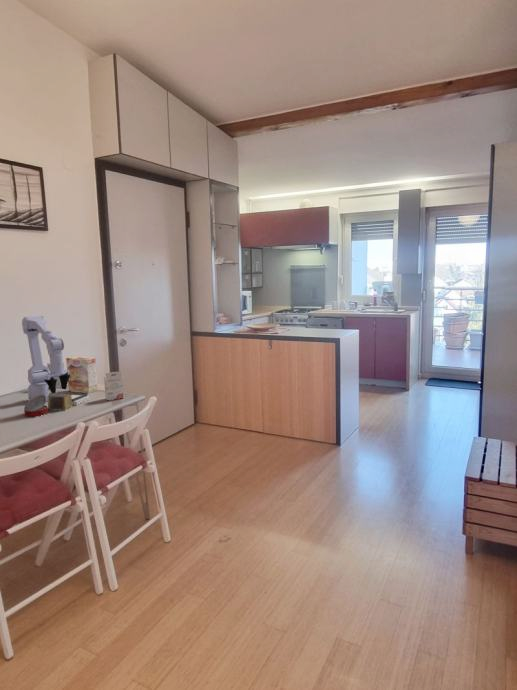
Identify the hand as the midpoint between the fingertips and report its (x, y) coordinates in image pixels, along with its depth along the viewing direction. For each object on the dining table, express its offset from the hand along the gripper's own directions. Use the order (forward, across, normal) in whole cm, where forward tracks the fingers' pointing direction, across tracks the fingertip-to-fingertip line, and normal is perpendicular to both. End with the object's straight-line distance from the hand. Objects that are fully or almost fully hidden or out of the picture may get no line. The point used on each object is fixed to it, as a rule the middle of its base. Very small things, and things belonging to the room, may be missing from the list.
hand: (58, 391), depth 221 cm
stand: (+9, +12, +2) cm, 15 cm away
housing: (+9, 0, 0) cm, 9 cm away
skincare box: (+9, +36, +32) cm, 49 cm away
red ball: (+9, -11, +5) cm, 15 cm away
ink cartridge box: (+9, +22, -16) cm, 29 cm away
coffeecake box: (+9, +32, +11) cm, 35 cm away
